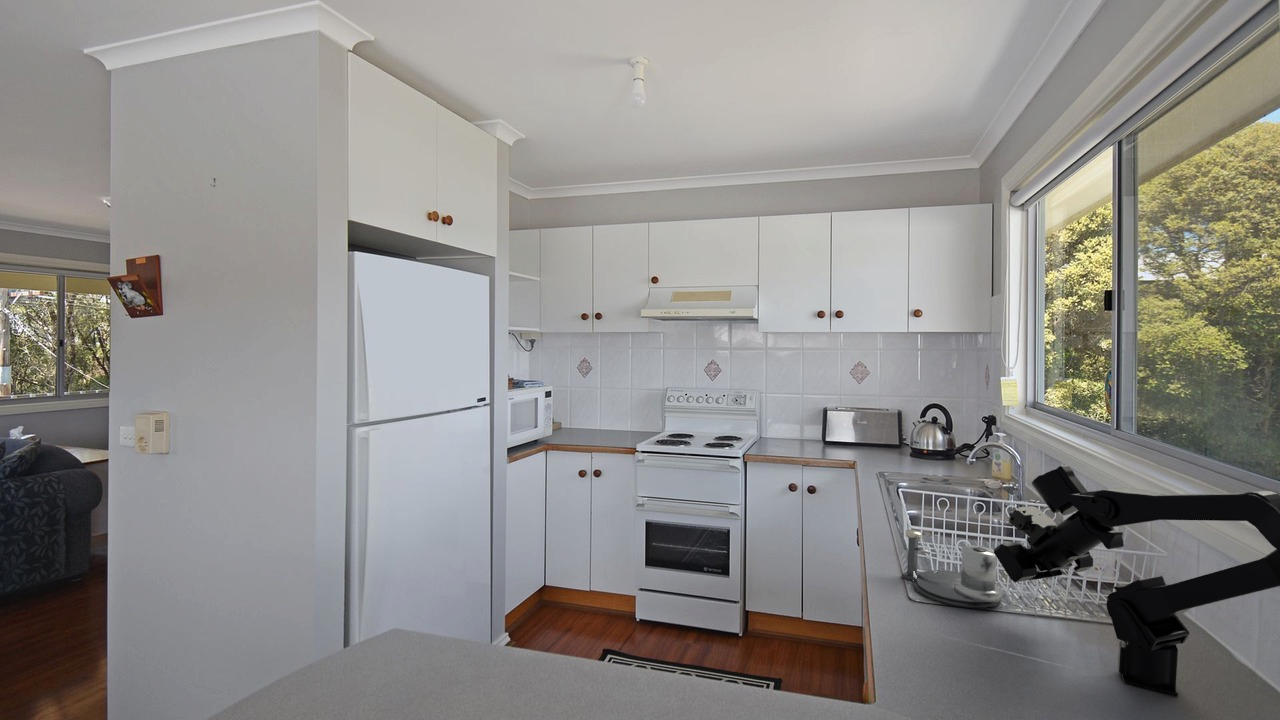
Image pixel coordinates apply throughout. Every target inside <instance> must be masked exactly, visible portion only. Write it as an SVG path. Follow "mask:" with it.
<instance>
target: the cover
mask: <svg viewBox="0 0 1280 720" xmlns="http://www.w3.org/2000/svg"><path fill="white" fill-rule="evenodd" d="M997 561H998V558H997V557H996V555H995V554H994V549H992V548H990V547H986V546H981V545H971V544H970V545H969V544H968V545H964V546H962V549H961V568H960V571H961V572H960V573H961V578H958V579H956V580H954V591H955V592H956V593H957V594H959V595H961V596H963V597H965V598H968V599H972V600H976V601H982V602H997V601H1000V600H1001V601H1002V599H1003V589H1002V587H1001V586H999V585H998V584H996V580H997V578H996V577H997Z"/></svg>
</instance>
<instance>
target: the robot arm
mask: <svg viewBox="0 0 1280 720" xmlns="http://www.w3.org/2000/svg"><path fill="white" fill-rule="evenodd" d="M1031 485H1032V487H1033V488H1034V489H1035V491H1036V492H1037V494H1038V495H1039V496H1040V498H1041V499H1042V500H1043V502H1044V503H1045V505H1046V506H1047V507H1048V508H1049V510H1050V511H1051V513H1053V514H1056V513H1060V514H1061V516H1067V515H1068V517H1067V518H1065V519H1064V520H1063V521H1061V522H1060V523H1059V524H1057V523H1056V522H1055V521H1054V520H1053V519H1052V518H1051V517H1050V516H1049V515H1047V514H1046V513H1044V511H1043V510H1041V509H1039V508H1038V507H1036V506H1031V505H1030V506H1019V507H1018V508H1016V509H1014V510H1013V511H1012V512H1009V518H1008V521H1009V523H1010V525H1012V526H1013V527H1014V528H1015V529H1017V531H1020V532H1022V533H1024V534H1026V536H1028V537H1026V542H1027V543H1028V545H1029V546H1030V548H1027V547H1026V546H1023V544H1022V543H1019V542H1017V541H1013V542H1007V543H1006V542H1005V543H1000V544H998V545H997V546H996V547H995V548H994V549H993V550H994V554H995V555H996V557H997V561H998V562H999V563H1000V565H1001V566H1002V568H1003V569H1004V571H1005V572H1006V575H1007V576H1008V577H1009V579H1010V581H1012V582H1014V583H1018V582H1026V581H1033V580H1042V579H1047V578H1053V577H1054V578H1055V577H1060V576H1062V575H1063V572H1062V570H1065V569H1069V568H1071V567H1072V566H1073V562H1074V563H1075V565H1076V566H1075V567H1073V571H1074V572H1075V573H1080V572H1081V573H1082V572H1086V571H1087V570H1089V569H1091V568H1092V567H1093V566H1094V557H1093V556H1092V555H1091V553H1090V551H1092V549H1095V548H1097V546H1099V545H1101V544H1102V545H1103V546H1104V547H1105V549H1107V550H1113V549H1114V550H1115V549H1121V548H1124V546H1125V544H1124V539H1123V536H1124V532H1123V531H1120V530H1117V529H1115V527H1122V526H1130V525H1136V524H1137V525H1139V524H1143V523H1148V522H1149V523H1150V522H1156V521H1162V520H1163V521H1215V522H1217V521H1221V522H1222V521H1228V522H1230V521H1231V522H1233V521H1234V522H1248V523H1249V524H1251V526H1254V527H1255V529H1257V530H1258V532H1259V533H1260V534H1261V535H1262V537H1264V539H1266V541H1267V542H1268V543H1269V544H1270V545H1271V546H1272V547H1273V548H1275V549H1274V550H1273V551H1271V552H1269V554H1267V555H1266V556H1263V557H1262V558H1260V559H1255V560H1252V561H1249V562H1246V563H1242V564H1238V565H1235V566H1232V567H1227V568H1225V569H1220V570H1218V571H1214V572H1211V573H1206V574H1204V575H1201V576H1196V577H1193V578H1190V579H1189V578H1188V579H1186V580H1182V581H1178V582H1176V583H1171V584H1168V583H1166V581H1165V580H1164V577H1163V575H1157V576H1150V577H1146V578H1142V579H1141V578H1140V579H1137V580H1135V581H1132V582H1130V583H1127V584H1121V585H1120V584H1119V585H1115V586H1113V589H1114V590H1115V591H1113V592H1111V593H1109V594H1108V595H1107V597H1106V610H1107V613H1108V615H1109V616H1110V619H1111V623H1112V626H1113V628H1114V633H1115V636H1116V639H1117V640H1119V642H1118V654H1117V669H1118V673H1119V674H1120V675H1121V677H1122V681H1123V683H1124V684H1127V685H1128V684H1129V685H1132V686H1136V687H1140V688H1144V689H1148V690H1153V691H1155V692H1161V693H1163V694H1164V693H1165V694H1168V695H1172V696H1179V690H1178V687H1177V678H1178V677H1177V675H1178V674H1177V673H1178V657H1179V649H1178V646H1177V645H1179V644H1181V645H1182V644H1185V642H1186V641H1187V639H1188V638H1189V636H1190V631H1189V630H1188V629H1187V627H1186V626H1185V625H1184V623H1183V622H1182V621H1181V619H1180V618H1179V617H1180V616H1182V615H1183V614H1186V612H1188V611H1189V610H1191V609H1194V608H1198V607H1202V606H1206V605H1210V604H1214V603H1218V602H1221V601H1227V600H1230V599H1235V598H1238V597H1242V596H1246V595H1251V594H1254V593H1259V592H1263V591H1266V590H1270V589H1275V588H1279V587H1280V493H1276V492H1274V491H1271V490H1257V491H1249V492H1220V493H1219V492H1216V493H1214V492H1213V493H1206V492H1205V493H1161V492H1156V491H1152V490H1148V489H1141V488H1134V487H1120V488H1119V487H1118V488H1109V489H1100V490H1093V491H1091V490H1090V491H1088V490H1087V489H1086V488H1085V486H1084V485H1083V483H1082V482H1081V481H1080V480H1079V478H1078V477H1077V476H1076V475H1075V473H1074V470H1073V469H1072V467H1070V465H1059V466H1058V467H1057V468H1055V469H1052V470H1050V471H1047V472H1045V473H1044V474H1040V475H1037V477H1035V478H1034V479H1033V481H1032V482H1031ZM1069 515H1070V516H1069Z"/></svg>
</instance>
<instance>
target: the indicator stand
mask: <svg viewBox="0 0 1280 720" xmlns="http://www.w3.org/2000/svg"><path fill="white" fill-rule="evenodd" d="M905 537H906V538H908V543H907V544H908V547H907V548H908V549H907V566H906V567H907V568H906V569H907V570H906V571H905V572H902V573H901V578H903V579H905V580H908V581H911V580H915V578H914V577H913V571H915V573H916V575H918V574H919V573H918V555H919V554H918V552H921V553H925V554H928V555H931V554H932V553H931V551H930V550H927V549H923V548H920V547H919V539H922V537H923V532H922V531H920V530H917V529H905Z"/></svg>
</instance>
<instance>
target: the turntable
mask: <svg viewBox="0 0 1280 720" xmlns="http://www.w3.org/2000/svg"><path fill="white" fill-rule="evenodd" d="M933 570H934V569H931V570H926V571H922V572H921V571H920V572H919V573H918V575H917V579H915V580H914V581H913V588H914V589H916V590H917V591H918V592H917V591H916V590H915V591H916V592H917V593H919V594H920V595H921V594H922V595H921V596H923V597H925V598H927V599H929V598H930V600H932V599H933V601H934V600H935V602H937V601H939V602H938V603H941V604H945V605H947V606H952V607H957V608H965V609H974V610H975V609H982V608H984V609H988V608H987V607H992V606H995V605H997V606H999V605H1000V604H1001V603H1002V599H1001V600H1000V601H997V602H982V601H976V600H972V599H968V598H965V597H963V596H961V595H959V594H957V593H956V592H955V591H954V580H956V579H958V578H961V572H960V571H959V572H958V571H955V570H954V571H953V570H941V569H936V571H937V572H936V573H934V571H933ZM1000 602H1001V603H1000ZM999 603H1000V604H999ZM998 604H999V605H998ZM995 607H996V606H995ZM992 608H993V607H992Z"/></svg>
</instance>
